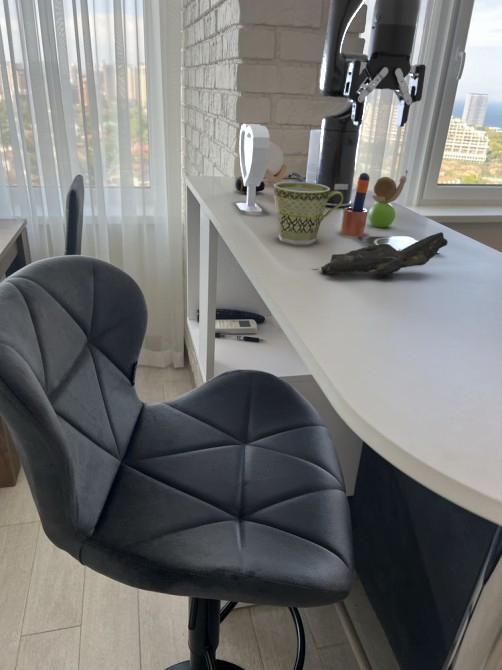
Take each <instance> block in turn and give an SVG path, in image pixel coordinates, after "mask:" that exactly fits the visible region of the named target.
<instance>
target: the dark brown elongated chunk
mask: <svg viewBox="0 0 502 670" xmlns="http://www.w3.org/2000/svg"><path fill="white" fill-rule="evenodd" d="M444 236H445V235H444V232H442V231H440V232H436V233H433V234H432V235H429V236H426V237H425V238H422V239H419V240H417V241H418V242H416V243H414V244H412V245H410V246H408V247H406V248H404V249H403V250H401V251H397V250H395V249H394V248H393V247H392V246H391V245H389V244H380V245H375V246H365V247H361V248H357V249H353V250H350V251H348V252H347V253H339V254H337V253H335V254H332V255H331V258H330V260H329V262H327V263H325V264H324V265H323V266H320V270H321V272H322V274H329V273H333V274H343V273H355V272H356V273H360V272H361V273H368V272H373V273H372V274H373V275H374V277H377V278H379V279H380V278H383V277H385V276H388V275H391V274H394V273H396V272H398V271H400V270H401V269H402V268H408V267H419V266H424V265H427V263H428V262H429V261H430V260H431V259H432V258H434V257H435V256H436V255H437V254H436V253H437V252H439V250H440V249H441V248H444V247H446V246H447V245H448V243H449V242H448V239H446V238H445V237H444Z"/></svg>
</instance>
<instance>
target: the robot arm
mask: <svg viewBox="0 0 502 670" xmlns="http://www.w3.org/2000/svg"><path fill="white" fill-rule="evenodd" d="M365 1H366V0H330V2H329V12H328V20H327V27H326V33H325V40H324V44H323V50H322V57H321V61H320V62H321V64H320V69H319V79H318V80H319V81H318V84H319V85H318V87H319V92H320V94H321V96H323V97H324V98H332V99H333V98H335V99H347V100H346V103H345V105H344V106H343V107H342V108H340V109H338V110H337V111H334V112H330V113H328V114H325V115H324V116H323V117H322V119H321V124H320V130H321V134H320V144H319V154H318V163H317V173H316V181H315V183H316V184H321V185H325V186H327V187H329V188H330V192H331V191H340V192H341V193H342V194H343V202H342V204H341V205H340V206H339V207H338V208H346V207H350V206H351V204H352V194H353V193H352V192H353V187H354V179H355V173H356V172H355V171H356V165H357V157H358V150H359V143H360V135H361V127H362V124H363V123H362V122H363V119H364V114H365V107H366V102H367V98H368V96H369V94H371V93H372V92H373V91H375V90H389V91H393V93H394V94H395V95H396V97H397V100H398V102H399V103H400V104H398V105H397V110H396V115H395V121H394V126H395V127H398V128H403V127H404V126H405V124H407V121H408V117H409V113H410V107H411V105H412V104H413V103H416V102H420V101H421V100H422V97H423V89H424V83H425V76H426V69H427V68H426V67H427V66H426V65H425V64H414V65H411V57H412V54H413V49H414V43H415V37H416V33H417V25H418V21H419V15H420V14H419V13H420V7H421V6H420V5H421V0H375V2H374V7H373V13H372V19H371V28H370V35H369V41H368V49H367V54H365V53H358V52H343V51H342V45H343V42H344V38H345V35H346V32H347V30H348V28H349V26H350V24H351V22H352V20H353V19H354V17H355V16H356V14H357V13H358V12H359V10H360V9H361V8H362V6H363V4H364V3H365ZM408 75H409V77H410V78H411V79H410V88H409V86H408V84H407V82H406V77H408ZM291 173H292V172H291ZM293 176H294V177H296V178H298V179H295V180H293V181H294V182H304V178H303V177H302V176H301V174H299V173H297V172H294V171H293V173H292V175H290V173H288V174H287V178H292V177H293ZM340 201H341V196H340V195H339V194H335V195H333V196H331V197H330V198H329V200H328V201H327V203H326V206H325V207H332V208H333V207H335V206H336V205H338V204H339V203H340Z"/></svg>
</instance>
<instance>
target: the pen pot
mask: <svg viewBox="0 0 502 670" xmlns="http://www.w3.org/2000/svg"><path fill="white" fill-rule="evenodd" d="M352 207H353V206H346V207H343V212H342V219H341V227H340V233H341V234H342V235H344V236H348V237H364V235H365V231H366V224H367V219H368V213H369V210H367V209H366V208H363V211H362V212H353V211H352Z"/></svg>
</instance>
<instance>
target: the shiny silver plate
mask: <svg viewBox="0 0 502 670" xmlns="http://www.w3.org/2000/svg"><path fill="white" fill-rule="evenodd" d="M356 237H357V239H358V240H359V241H361V242H362V243H364V244H365V245H366V246H367V247H369V246H375V245H380V244H389V245H391V246H392V247H393V248H394V249H395V250H397V251H401V250H403V249H404V248H406V247H408V246H410V245H412V244H414V243H416V242H418V241H419V240H417V239H415V238H413V237H411V236H408V235H406V236H405V235H403V236H401V235H400V236H397V235H395V236H391V235H390V236H356ZM435 255H440V252H439V251H438V252H437V253H436V254H435Z"/></svg>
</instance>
